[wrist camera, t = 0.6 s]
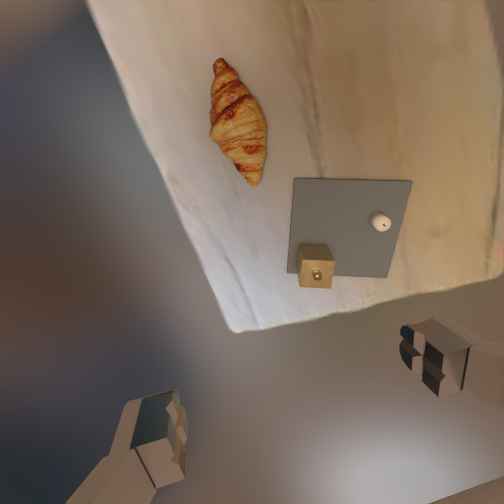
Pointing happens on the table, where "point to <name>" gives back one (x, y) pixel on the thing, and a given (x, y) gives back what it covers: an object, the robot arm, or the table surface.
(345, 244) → the charcoal mat
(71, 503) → the robot arm
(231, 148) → the croissant
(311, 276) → the brass knob block
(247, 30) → the table surface
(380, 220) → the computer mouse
